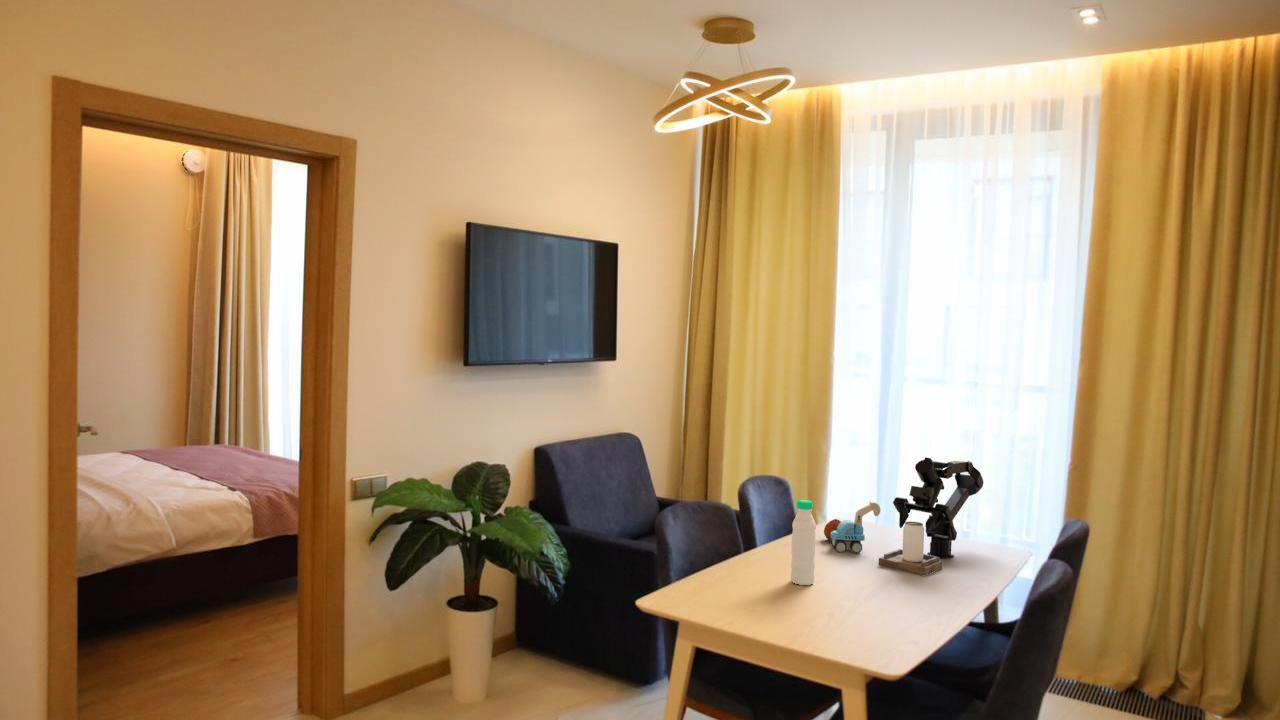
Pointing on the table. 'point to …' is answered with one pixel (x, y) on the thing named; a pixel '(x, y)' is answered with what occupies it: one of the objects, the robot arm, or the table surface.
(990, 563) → the table surface
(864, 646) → the table surface
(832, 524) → the fruit
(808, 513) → the water bottle
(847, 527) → the toy excavator
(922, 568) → the dock
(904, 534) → the can
